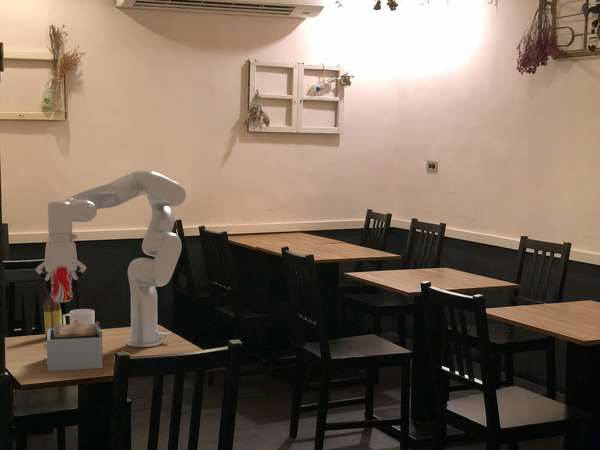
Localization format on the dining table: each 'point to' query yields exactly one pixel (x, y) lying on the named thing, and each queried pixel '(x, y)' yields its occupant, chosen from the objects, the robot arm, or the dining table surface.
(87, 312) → the mug
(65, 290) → the soda can
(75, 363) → the bin
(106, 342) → the dining table surface
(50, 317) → the sauce bottle
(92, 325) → the flap
